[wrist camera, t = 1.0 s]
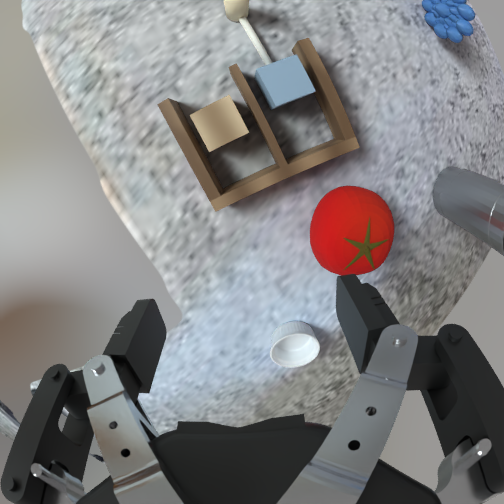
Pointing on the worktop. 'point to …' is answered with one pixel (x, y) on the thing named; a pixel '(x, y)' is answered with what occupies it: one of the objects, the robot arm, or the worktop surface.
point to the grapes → (449, 18)
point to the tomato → (351, 231)
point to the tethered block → (272, 65)
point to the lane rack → (267, 135)
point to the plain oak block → (219, 123)
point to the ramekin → (294, 344)
